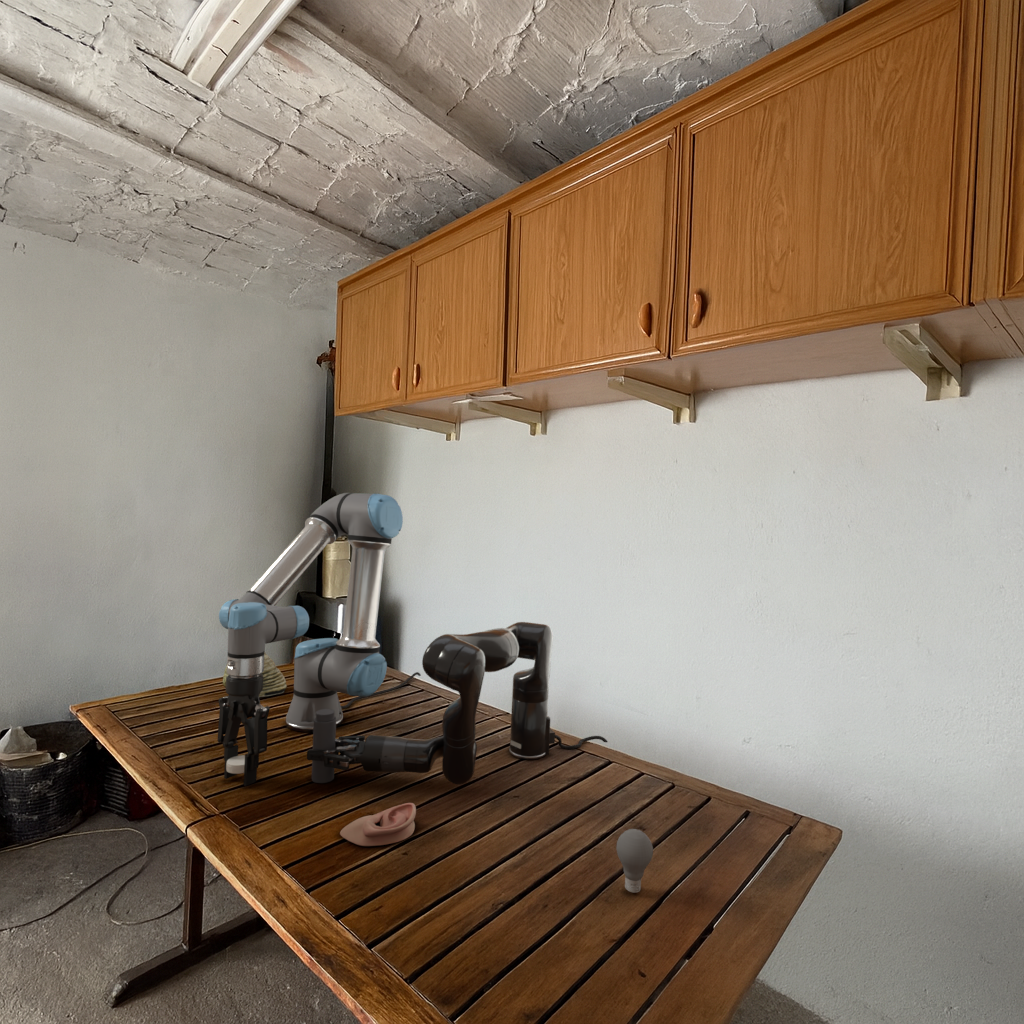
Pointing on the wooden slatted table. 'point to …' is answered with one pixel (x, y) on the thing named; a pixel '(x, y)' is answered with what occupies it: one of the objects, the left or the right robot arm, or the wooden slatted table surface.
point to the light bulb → (634, 857)
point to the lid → (236, 764)
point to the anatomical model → (382, 826)
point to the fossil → (268, 679)
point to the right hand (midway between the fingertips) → (312, 749)
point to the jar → (323, 743)
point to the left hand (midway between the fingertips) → (240, 779)
